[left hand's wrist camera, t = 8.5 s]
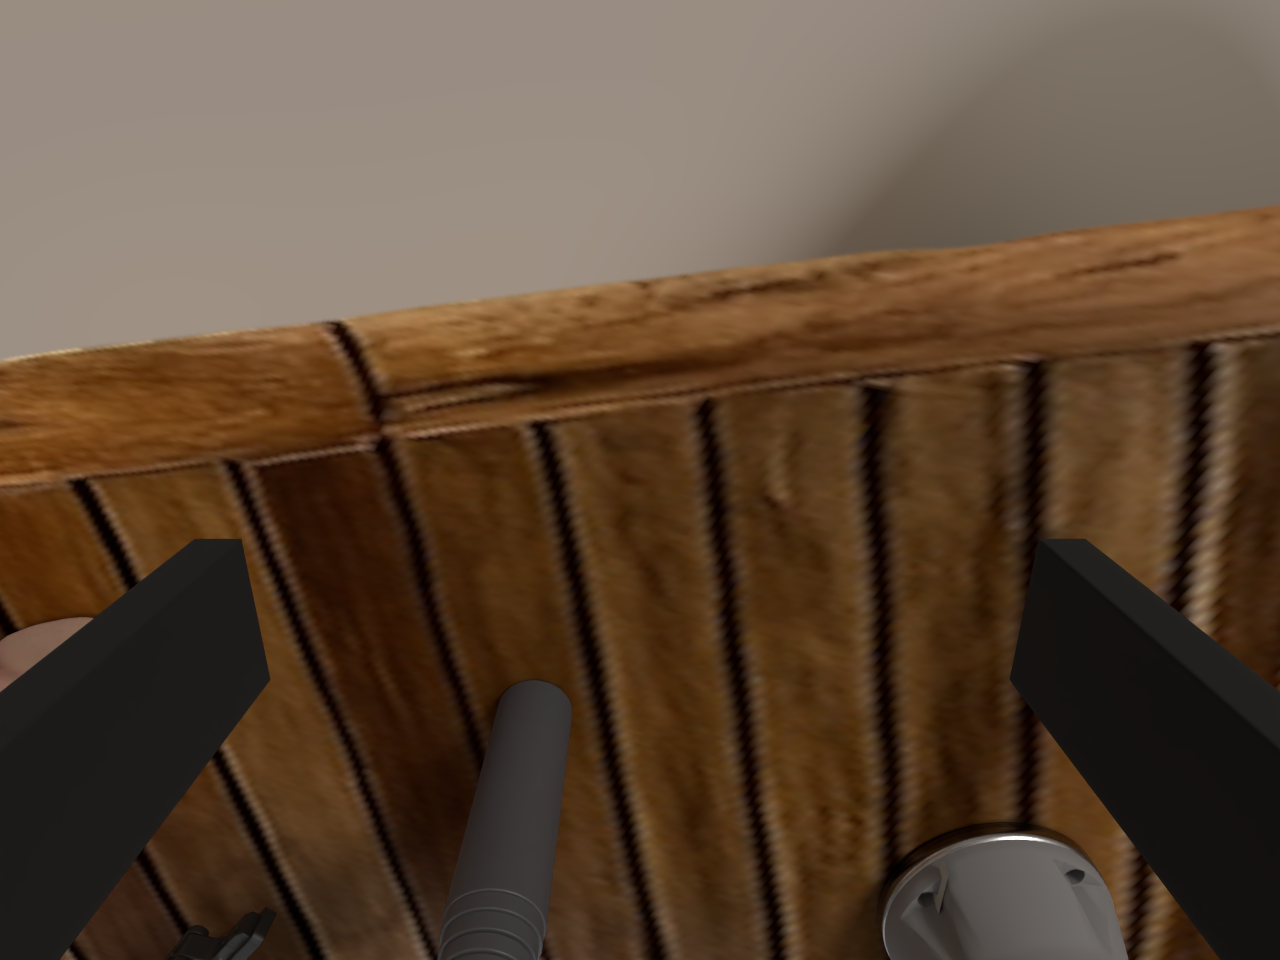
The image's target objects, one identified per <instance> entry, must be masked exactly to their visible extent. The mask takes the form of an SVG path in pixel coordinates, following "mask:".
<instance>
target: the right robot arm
mask: <svg viewBox="0 0 1280 960" xmlns="http://www.w3.org/2000/svg"><path fill="white" fill-rule="evenodd" d="M275 916H276V912H274V911H272V910H270V909H268V908H267V907H266V908H264V909H263V911H262V912H261V913H260V914H257V913H255V912H251V913H248V914H246V915H245V916H244V917H243V918H242V919H241V920H240V921H239V922H238V923H237V924H236V925H235V926H234V927H233V928H232V929H231V930H230V932H229V933H228V934H223V935H222V936H221V937H220V938H212V937H208V935H209V932H208V930H207V929H206V928H205V927H203V926H199V925H194V926H192V927H190V928H189V930H188V931H187V932H186V933H185V935H184V936H183V937H182V939H181V940H180V941H179V942H178V944H177V945H176V946H175V947H174V949H173V950H172V951H171V953H170V954H169V955H168V956H167V958H166V959H165V960H248V957H249V956H250V955H251V954H252V953H253V952H254V951H255V950H256V949H257V948H258V947H259V946H260V944H261V943H262V941H263V940H264V938H265V936H266V934H267V932H268V930H269V928H270V926H271V924H272V922H273V920H274V918H275Z"/></svg>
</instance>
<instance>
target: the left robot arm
mask: <svg viewBox="0 0 1280 960" xmlns="http://www.w3.org/2000/svg"><path fill="white" fill-rule="evenodd" d="M269 681H270V675H269V671H268V666H267V661H266V656H265V651H264V646H263V642H262V637H261V632H260V627H259V622H258V617H257V613H256V608H255V603H254V598H253V593H252V588H251V584H250V579H249V574H248V569H247V564H246V559H245V555H244V550H243V545H242V540H241V539H194V540H193V541H192V542H190V543H189V544H188V545H186V546H185V547H184V548H183V549H181V550H180V551H179V552H178V553H176V554H175V555H174V556H172V557H171V558H170V559H169V560H167V561H166V562H165V563H164V564H162V565H161V566H160V567H158V568H157V569H156V570H155V571H153V572H152V573H151V574H150V575H148V576H147V577H146V578H144V579H143V580H142V581H141V582H139V583H138V584H137V585H136V586H134V587H133V588H132V589H130V590H129V591H128V592H127V593H125V594H124V595H123V596H122V597H120V598H119V599H118V600H116V601H115V602H114V603H113V604H111V605H110V606H109V607H108V608H106V609H105V610H104V611H102V612H101V613H100V614H99V615H97V616H96V617H95V618H94V619H92V620H91V621H90V622H88V623H87V624H86V625H85V626H83V627H82V628H81V629H80V630H78V631H77V632H76V633H75V634H73V635H72V636H71V637H69V638H68V639H67V640H66V641H64V642H63V643H62V644H61V645H59V646H58V647H57V648H55V649H54V650H53V651H52V652H50V653H49V654H48V655H47V656H45V657H44V658H43V659H41V660H40V661H39V662H38V663H36V664H35V665H34V666H33V667H31V668H30V669H29V670H27V671H26V672H25V673H24V674H22V675H21V676H20V677H19V678H17V679H16V680H15V681H13V682H12V683H11V684H10V685H8V686H7V687H6V688H5V689H3V690H2V691H1V692H0V960H60V958H61V957H62V956H63V954H64V953H65V952H66V950H67V949H68V948H69V946H70V945H71V944H72V942H73V941H74V940H75V938H76V937H77V936H78V934H79V933H80V932H81V930H82V929H83V928H84V927H85V925H86V924H87V923H88V921H89V920H90V919H91V917H92V916H93V915H94V913H95V912H96V911H97V909H98V908H99V907H100V905H101V904H102V903H103V901H104V900H105V899H106V897H107V896H108V895H109V893H110V892H111V891H112V889H113V888H114V887H115V885H116V884H117V883H118V881H119V880H120V879H121V877H122V876H123V875H124V873H125V872H126V871H127V869H128V868H129V867H130V865H131V864H132V863H133V861H134V860H135V859H136V857H137V856H138V855H139V853H140V852H141V851H142V849H143V848H144V847H145V846H146V844H147V843H148V842H149V840H150V839H151V838H152V836H153V835H154V834H155V832H156V831H157V830H158V828H159V827H160V826H161V824H162V823H163V822H164V820H165V819H166V818H167V816H168V815H169V814H170V812H171V811H172V810H173V808H174V807H175V806H176V804H177V803H178V802H179V800H180V799H181V798H182V796H183V795H184V794H185V792H186V791H187V790H188V788H189V787H190V786H191V784H192V783H193V782H194V780H195V779H196V778H197V776H198V775H199V774H200V772H201V771H202V770H203V768H204V767H205V766H206V765H207V763H208V762H209V761H210V759H211V758H212V757H213V755H214V754H215V753H216V751H217V750H218V749H219V747H220V746H221V745H222V743H223V742H224V741H225V739H226V738H227V737H228V735H229V734H230V733H231V731H232V730H233V729H234V727H235V726H236V725H237V723H238V722H239V721H240V719H241V718H242V717H243V715H244V714H245V713H246V711H247V710H248V709H249V707H250V706H251V705H252V703H253V702H254V701H255V699H256V698H257V697H258V695H259V694H260V693H261V691H262V690H263V689H264V687H265V686H266V685H267V684H268V682H269ZM1010 681H1011V682H1012V684H1013V685H1014V686H1015V687H1016V689H1017V690H1018V691H1019V693H1020V694H1021V695H1022V697H1023V698H1024V699H1025V701H1026V702H1027V703H1028V705H1029V706H1030V707H1031V709H1032V710H1033V711H1034V713H1035V714H1036V715H1037V717H1038V718H1039V719H1040V721H1041V722H1042V723H1043V725H1044V726H1045V727H1046V729H1047V730H1048V731H1049V733H1050V734H1051V735H1052V737H1053V738H1054V739H1055V741H1056V742H1057V743H1058V745H1059V746H1060V747H1061V749H1062V750H1063V751H1064V753H1065V754H1066V755H1067V757H1068V758H1069V759H1070V761H1071V762H1072V763H1073V765H1074V766H1075V767H1076V768H1077V770H1078V771H1079V772H1080V774H1081V775H1082V776H1083V778H1084V779H1085V780H1086V782H1087V783H1088V784H1089V786H1090V787H1091V788H1092V790H1093V791H1094V792H1095V794H1096V795H1097V796H1098V798H1099V799H1100V800H1101V802H1102V803H1103V804H1104V806H1105V807H1106V808H1107V810H1108V811H1109V812H1110V814H1111V815H1112V816H1113V818H1114V819H1115V820H1116V822H1117V823H1118V824H1119V826H1120V827H1121V828H1122V830H1123V831H1124V832H1125V834H1126V835H1127V836H1128V838H1129V839H1130V840H1131V842H1132V843H1133V844H1134V846H1135V847H1136V848H1137V849H1138V851H1139V852H1140V853H1141V855H1142V856H1143V857H1144V859H1145V860H1146V861H1147V863H1148V864H1149V865H1150V867H1151V868H1152V869H1153V871H1154V872H1155V873H1156V875H1157V876H1158V877H1159V879H1160V880H1161V881H1162V883H1163V884H1164V885H1165V887H1166V888H1167V889H1168V891H1169V892H1170V893H1171V895H1172V896H1173V897H1174V899H1175V900H1176V901H1177V903H1178V904H1179V905H1180V907H1181V908H1182V909H1183V911H1184V912H1185V913H1186V915H1187V916H1188V917H1189V919H1190V920H1191V921H1192V923H1193V924H1194V925H1195V927H1196V928H1197V929H1198V930H1199V932H1200V933H1201V934H1202V936H1203V937H1204V938H1205V940H1206V941H1207V942H1208V944H1209V945H1210V946H1211V948H1212V949H1213V950H1214V952H1215V953H1216V954H1217V956H1218V957H1219V958H1220V960H1280V692H1279V691H1278V690H1277V689H1275V688H1274V687H1273V686H1272V685H1270V684H1269V683H1268V682H1267V681H1265V680H1264V679H1263V678H1261V677H1260V676H1259V675H1258V674H1256V673H1255V672H1254V671H1253V670H1251V669H1250V668H1249V667H1247V666H1246V665H1245V664H1244V663H1242V662H1241V661H1240V660H1239V659H1237V658H1236V657H1235V656H1233V655H1232V654H1231V653H1230V652H1228V651H1227V650H1226V649H1225V648H1223V647H1222V646H1221V645H1219V644H1218V643H1217V642H1216V641H1214V640H1213V639H1212V638H1211V637H1209V636H1208V635H1207V634H1205V633H1204V632H1203V631H1202V630H1200V629H1199V628H1198V627H1197V626H1195V625H1194V624H1193V623H1192V622H1190V621H1189V620H1188V619H1186V618H1185V617H1184V616H1183V615H1181V614H1180V613H1179V612H1178V611H1176V610H1175V609H1174V608H1172V607H1171V606H1170V605H1169V604H1167V603H1166V602H1165V601H1164V600H1162V599H1161V598H1160V597H1158V596H1157V595H1156V594H1155V593H1153V592H1152V591H1151V590H1150V589H1148V588H1147V587H1146V586H1144V585H1143V584H1142V583H1141V582H1139V581H1138V580H1137V579H1136V578H1134V577H1133V576H1132V575H1130V574H1129V573H1128V572H1127V571H1125V570H1124V569H1123V568H1122V567H1120V566H1119V565H1118V564H1116V563H1115V562H1114V561H1113V560H1111V559H1110V558H1109V557H1108V556H1106V555H1105V554H1104V553H1102V552H1101V551H1100V550H1099V549H1097V548H1096V547H1095V546H1094V545H1092V544H1091V543H1090V542H1088V541H1087V540H1086V539H1039V540H1038V545H1037V550H1036V555H1035V559H1034V564H1033V569H1032V574H1031V579H1030V584H1029V588H1028V593H1027V598H1026V603H1025V608H1024V613H1023V617H1022V622H1021V627H1020V632H1019V637H1018V642H1017V646H1016V651H1015V656H1014V661H1013V666H1012V671H1011V675H1010ZM878 924H879V928H880V932H881V935H882V938H883V941H884V944H885V947H886V950H887V953H888V955H889V957H890V959H891V960H1128V956H1127V953H1126V949H1125V945H1124V941H1123V938H1122V934H1121V930H1120V927H1119V923H1118V919H1117V915H1116V912H1115V908H1114V904H1113V901H1112V898H1111V895H1110V893H1109V891H1108V888H1107V886H1106V884H1105V882H1104V880H1103V878H1102V876H1101V874H1100V873H1099V871H1098V870H1097V868H1096V867H1095V865H1094V864H1093V862H1092V861H1091V859H1090V858H1089V857H1088V855H1087V854H1086V853H1085V851H1084V850H1083V849H1082V848H1081V847H1080V846H1079V845H1077V844H1076V843H1075V842H1074V841H1072V840H1071V839H1069V838H1067V837H1066V836H1064V835H1062V834H1060V833H1058V832H1056V831H1053V830H1050V829H1048V828H1044V827H1041V826H1037V825H1031V824H1025V823H1012V822H1002V823H989V824H981V825H976V826H971V827H967V828H964V829H960V830H957V831H954V832H951V833H949V834H946V835H944V836H942V837H939V838H937V839H935V840H933V841H932V842H930V843H928V844H926V845H925V846H923V847H921V848H920V849H918V850H917V851H916V852H914V853H913V854H912V855H910V856H909V857H908V858H907V859H906V860H905V861H904V862H903V863H902V864H901V865H900V866H899V867H898V868H897V869H896V870H895V872H894V873H893V874H892V875H891V877H890V878H889V880H888V882H887V883H886V885H885V887H884V889H883V891H882V894H881V897H880V901H879V905H878Z"/></svg>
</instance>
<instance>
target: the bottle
mask: <svg viewBox="0 0 1280 960" xmlns="http://www.w3.org/2000/svg"><path fill="white" fill-rule="evenodd" d="M571 719H572V706H571V703H570V701H569V699H568V697H567V696H566V694H565V693H564V692H563V691H562V690H561V689H559V688H558V687H557V686H555V685H553V684H551V683H548V682H545V681H540V680H528V681H523V682H519V683H517V684H515V685H513V686H511V687H510V688H509V689H508V690H506V691H505V693H504V694H503V695H502V697H501V699H500V701H499V705H498V708H497V712H496V716H495V720H494V724H493V727H492V731H491V735H490V739H489V743H488V747H487V750H486V754H485V758H484V762H483V766H482V769H481V773H480V777H479V781H478V785H477V788H476V792H475V796H474V800H473V804H472V807H471V811H470V815H469V819H468V823H467V827H466V830H465V834H464V838H463V842H462V846H461V849H460V853H459V857H458V861H457V865H456V868H455V872H454V876H453V880H452V884H451V887H450V891H449V895H448V899H447V903H446V907H445V910H444V914H443V919H442V928H441V932H440V937H439V944H440V949H439V953H438V960H538V959H539V957H540V955H541V952H542V946H543V939H544V936H545V933H546V926H547V918H548V910H549V902H550V893H551V885H552V877H553V869H554V860H555V852H556V844H557V835H558V827H559V819H560V811H561V802H562V794H563V786H564V777H565V769H566V761H567V753H568V744H569V736H570V728H571Z"/></svg>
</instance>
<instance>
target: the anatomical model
mask: <svg viewBox="0 0 1280 960" xmlns="http://www.w3.org/2000/svg"><path fill="white" fill-rule="evenodd" d="M92 619H94V618H89V617H76V618H66V619H61V620H56V621H51V622H46V623H41V624H37V625H34V626H31V627H28V628H25V629H23V630H20V631H18V632H15V633H13V634H10V635H8V636H7V637H5V638H4V639H2V640H1V641H0V692H1V691H2V690H3V689H5V688H6V687H7V686H8V685H10V684H11V683H12V682H13V681H15V680H16V679H17V678H19V677H20V676H21V675H22V674H24V673H25V672H26V671H27V670H29V669H30V668H31V667H33V666H34V665H35V664H36V663H38V662H39V661H40V660H41V659H43V658H44V657H45V656H47V655H48V654H49V653H50V652H52V651H53V650H54V649H55V648H57V647H58V646H59V645H61V644H62V643H63V642H64V641H66V640H67V639H68V638H69V637H71V636H72V635H73V634H75V633H76V632H77V631H78V630H80V629H81V628H82V627H83V626H85V625H86V624H87V623H88V622H90V621H91V620H92Z"/></svg>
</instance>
